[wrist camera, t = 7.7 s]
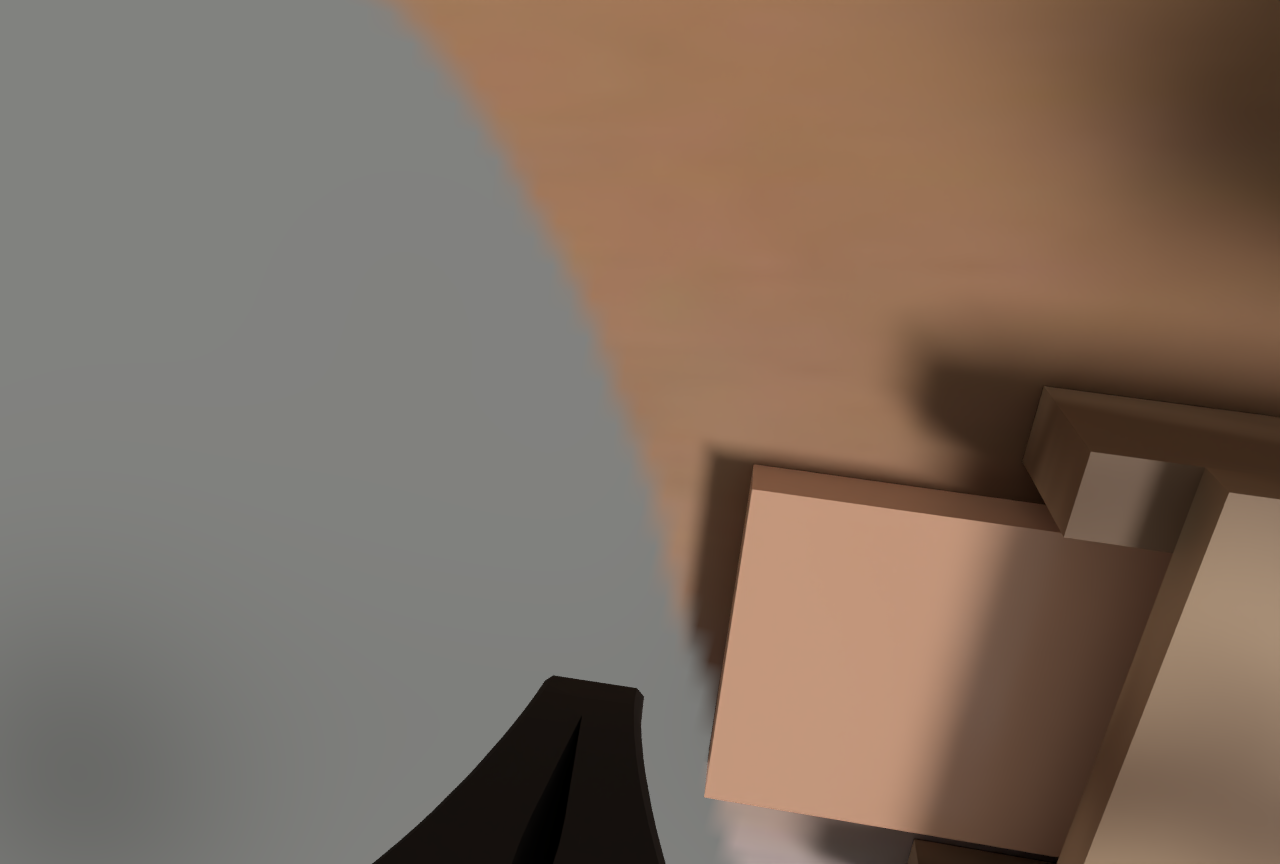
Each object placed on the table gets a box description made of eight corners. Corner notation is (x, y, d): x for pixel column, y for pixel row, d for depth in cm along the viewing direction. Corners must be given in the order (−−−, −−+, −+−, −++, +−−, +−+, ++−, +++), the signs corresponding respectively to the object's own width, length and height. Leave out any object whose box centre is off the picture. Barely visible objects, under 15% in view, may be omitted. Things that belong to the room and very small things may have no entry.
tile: (1159, 823, 25) (1185, 879, 24) (708, 748, 26) (704, 797, 25) (1284, 528, 21) (1325, 570, 20) (754, 454, 22) (752, 488, 21)
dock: (1237, 946, 26) (1321, 1117, 22) (900, 886, 26) (921, 1040, 22) (1490, 445, 20) (1673, 554, 16) (1043, 386, 20) (1108, 476, 16)
